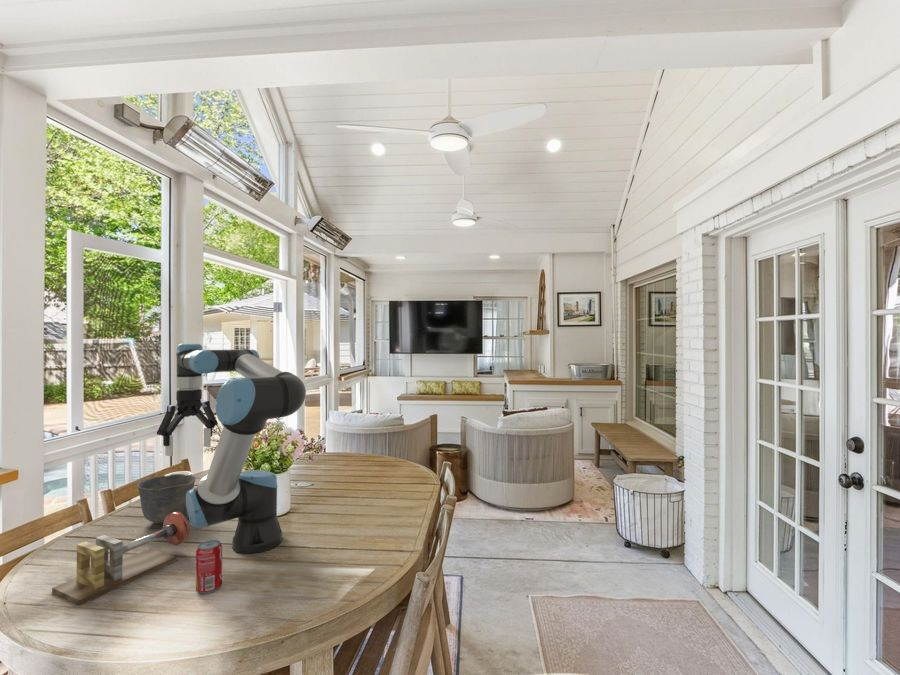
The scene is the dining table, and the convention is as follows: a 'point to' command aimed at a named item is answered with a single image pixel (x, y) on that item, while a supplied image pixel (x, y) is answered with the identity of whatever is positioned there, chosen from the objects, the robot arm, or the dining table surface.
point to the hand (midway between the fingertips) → (188, 451)
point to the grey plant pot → (164, 495)
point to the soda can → (208, 566)
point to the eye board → (127, 573)
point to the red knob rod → (165, 532)
